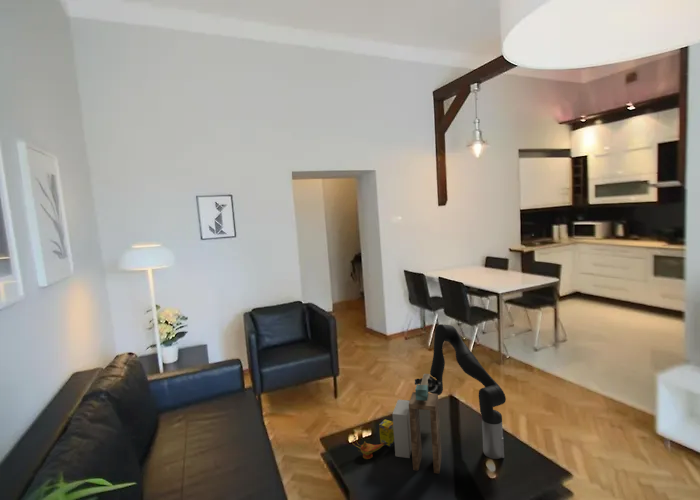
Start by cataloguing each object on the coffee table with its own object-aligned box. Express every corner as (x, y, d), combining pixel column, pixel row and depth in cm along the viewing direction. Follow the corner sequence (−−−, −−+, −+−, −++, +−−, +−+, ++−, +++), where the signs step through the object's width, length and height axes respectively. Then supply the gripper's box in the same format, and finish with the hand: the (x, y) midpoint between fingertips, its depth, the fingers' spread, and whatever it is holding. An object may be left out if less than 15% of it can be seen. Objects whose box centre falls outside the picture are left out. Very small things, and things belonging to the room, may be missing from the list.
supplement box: (389, 447, 192) (388, 427, 191) (380, 444, 196) (378, 424, 195) (395, 441, 197) (394, 421, 196) (386, 438, 200) (384, 418, 199)
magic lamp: (388, 460, 182) (387, 438, 181) (352, 460, 185) (350, 438, 184) (389, 451, 189) (387, 430, 188) (353, 451, 191) (352, 430, 190)
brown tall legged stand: (441, 457, 182) (437, 393, 179) (439, 473, 170) (435, 406, 168) (416, 453, 185) (412, 392, 183) (413, 469, 174) (408, 404, 171)
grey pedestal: (414, 440, 196) (411, 400, 194) (409, 458, 183) (406, 415, 181) (400, 439, 199) (398, 399, 197) (395, 456, 185) (392, 413, 183)
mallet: (432, 379, 190) (431, 370, 189) (427, 400, 169) (426, 390, 168) (422, 379, 191) (421, 369, 191) (416, 400, 170) (415, 389, 170)
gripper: (416, 376, 201) (410, 372, 186) (443, 377, 197) (439, 373, 182) (416, 390, 198) (410, 387, 183) (443, 392, 194) (439, 389, 179)
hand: (425, 380), depth 183 cm, fingers closed on mallet, 3 cm apart
